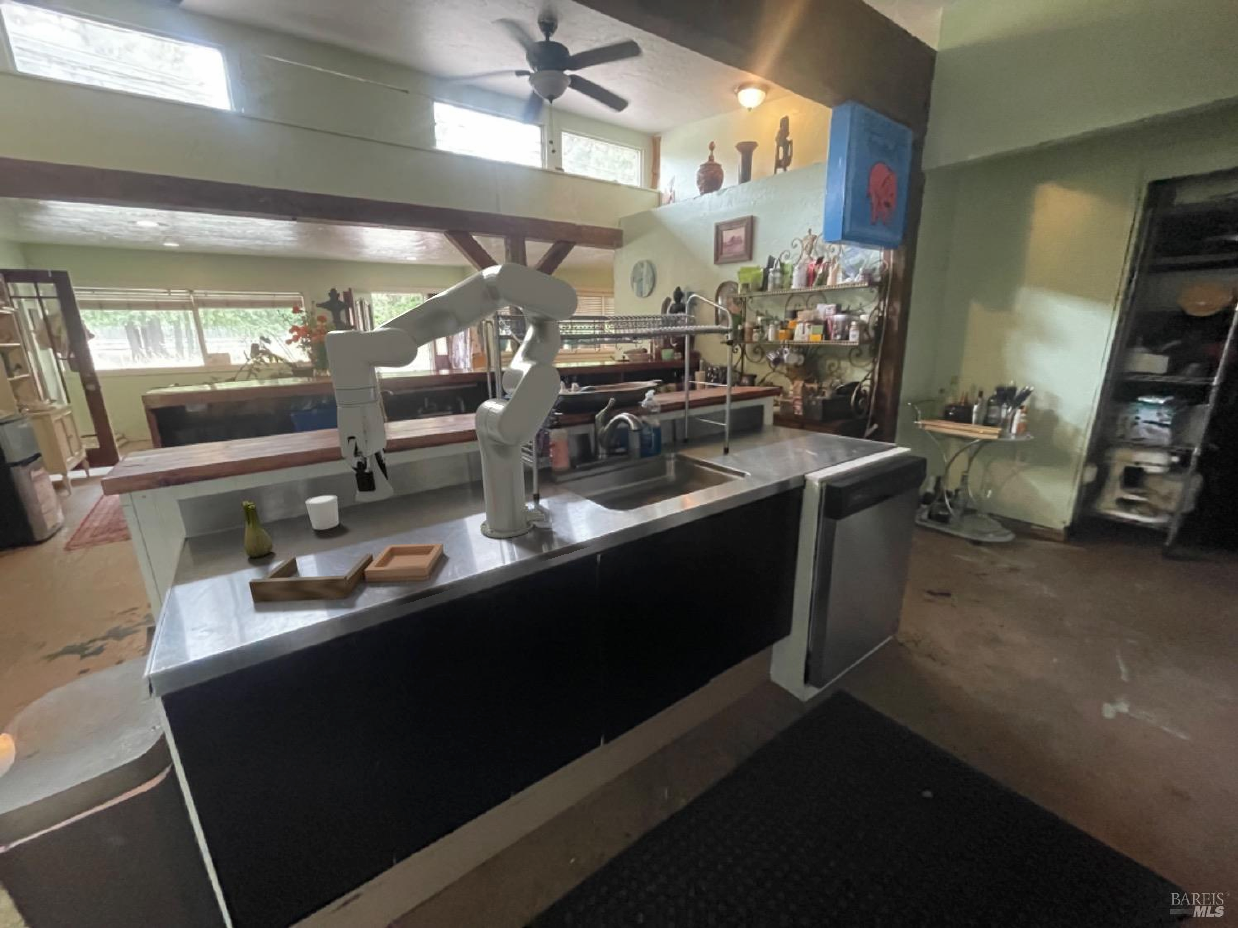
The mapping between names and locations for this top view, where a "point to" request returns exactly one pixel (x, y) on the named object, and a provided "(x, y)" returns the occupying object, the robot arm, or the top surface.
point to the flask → (381, 484)
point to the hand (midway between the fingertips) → (373, 485)
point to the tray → (404, 562)
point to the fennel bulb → (255, 533)
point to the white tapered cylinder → (323, 511)
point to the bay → (306, 583)
